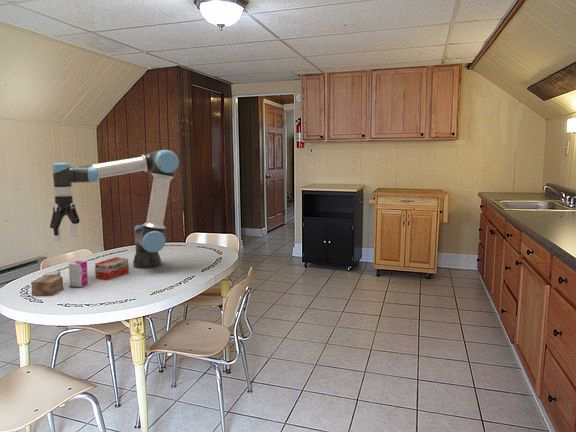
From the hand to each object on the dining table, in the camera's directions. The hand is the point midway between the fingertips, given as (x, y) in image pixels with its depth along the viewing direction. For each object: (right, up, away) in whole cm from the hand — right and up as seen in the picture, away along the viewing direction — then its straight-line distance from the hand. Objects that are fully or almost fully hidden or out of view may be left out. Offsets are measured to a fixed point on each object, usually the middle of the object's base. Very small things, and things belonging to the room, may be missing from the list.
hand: (66, 239), depth 210 cm
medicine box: (+17, -20, +13) cm, 29 cm away
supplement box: (+8, -22, -4) cm, 24 cm away
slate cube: (-5, -22, -4) cm, 23 cm away
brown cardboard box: (-1, -23, -14) cm, 27 cm away
